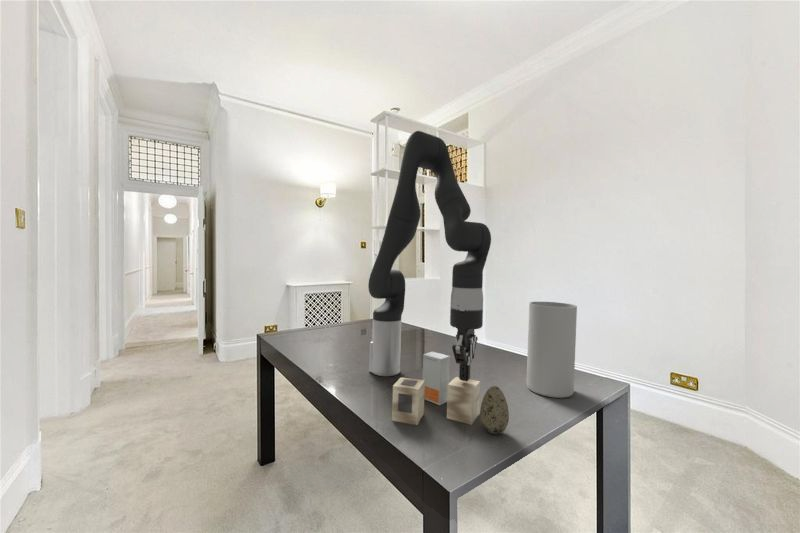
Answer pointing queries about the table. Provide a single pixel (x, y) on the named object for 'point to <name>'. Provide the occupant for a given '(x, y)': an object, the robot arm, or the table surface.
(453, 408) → the birch block
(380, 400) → the table surface
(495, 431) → the decorative egg
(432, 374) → the skincare box
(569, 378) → the cylinder vase
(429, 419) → the table surface
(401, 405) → the marked block
